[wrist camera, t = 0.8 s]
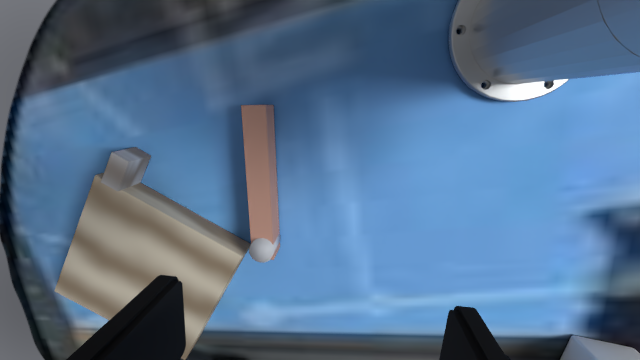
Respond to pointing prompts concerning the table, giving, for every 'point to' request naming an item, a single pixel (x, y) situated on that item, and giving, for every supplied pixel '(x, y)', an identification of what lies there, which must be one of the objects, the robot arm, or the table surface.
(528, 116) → the table surface
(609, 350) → the box camera
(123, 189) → the stool seat
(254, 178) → the folding leg
